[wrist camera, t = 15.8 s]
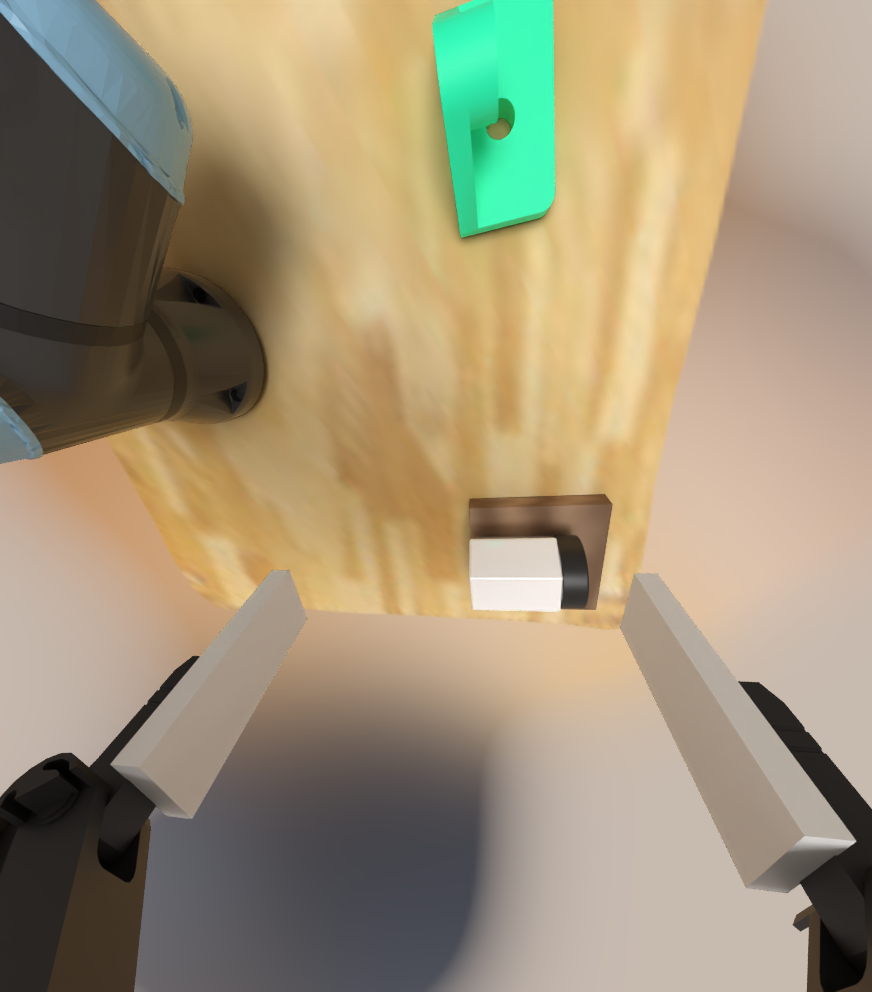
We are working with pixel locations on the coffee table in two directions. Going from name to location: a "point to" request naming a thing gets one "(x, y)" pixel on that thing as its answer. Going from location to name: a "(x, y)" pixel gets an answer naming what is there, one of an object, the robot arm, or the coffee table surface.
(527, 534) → the plinth
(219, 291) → the robot arm
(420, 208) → the coffee table surface
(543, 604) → the jar
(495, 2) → the camera mount
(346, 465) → the coffee table surface
